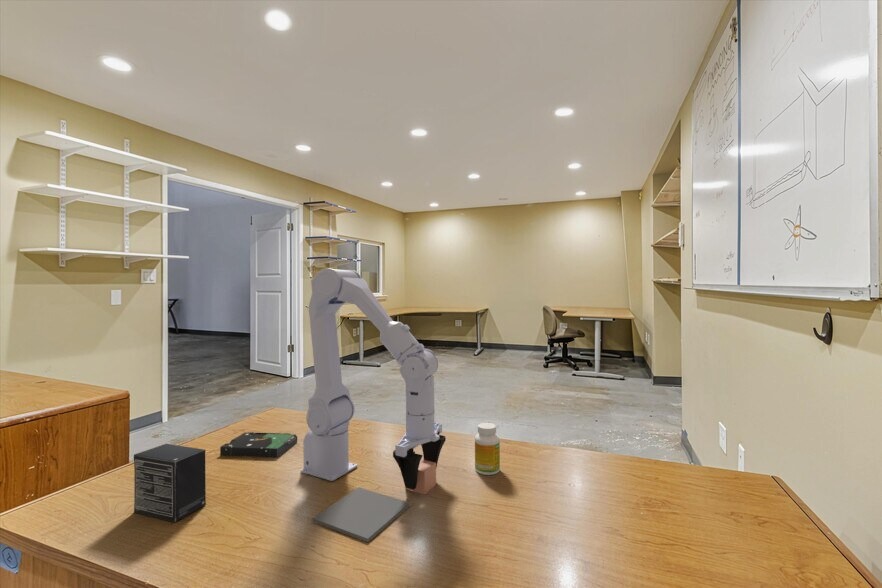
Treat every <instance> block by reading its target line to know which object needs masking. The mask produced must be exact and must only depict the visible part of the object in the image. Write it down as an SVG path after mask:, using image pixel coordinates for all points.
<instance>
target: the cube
mask: <svg viewBox="0 0 882 588" xmlns="http://www.w3.org/2000/svg"><path fill="white" fill-rule="evenodd" d="M436 485H437V468H436V463H435V462H431V461H427V460H424V459H422V458H421V461H420V464H419V468H418V475H417V485H416V488H415V489H414V490H413V489H409V488H406V487H405V486H404V488H405V490H406V491H407V490H408V491H411V492H414V493H418V494H420V495H426V494H427V493H428V492H429V491H430V490H431V489H433V488H434V487H435V486H436Z"/></svg>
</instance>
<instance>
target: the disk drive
mask: <svg viewBox="0 0 882 588" xmlns="http://www.w3.org/2000/svg"><path fill="white" fill-rule="evenodd" d="M297 443H298V436H297V434H294V433H288V432H287V433H286V432H285V433H282V432H280V433H279V432H275V433H274V432H250V431H248V432H243V433H241V434H240V435H238V436H236V437H235V438H233V439H231V440H230V441H229V443H225V444H222V445H221V446H220V447H219V451H220V453H219V455H220V456H221V457H241V458H242V457H246V458H268V459H271V458H273V459H276V458H277V459H278V458H279V457H281V456H282V455H283V454H284V453H286V452H287V451H288V450H289V449H291V448H292V447H293V446H294V445H295V444H297Z"/></svg>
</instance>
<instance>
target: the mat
mask: <svg viewBox="0 0 882 588" xmlns="http://www.w3.org/2000/svg"><path fill="white" fill-rule="evenodd" d="M410 506H411V502H410V501H407V500H403V499H401V498H397V497H393V496H389V495H386V494H382V493H379V492H376V491H372V490H368V489H366V488H362V487H357V488H356V489H354V490H352V491H351V492H349V493H348V494H347V495H345V496H343V497H342V498H341V499H338V501H336V502H334V503H333V504H331V505H330V506H328V507H327V508H325V509H324V510H322V511H321V512H319V513H317V514H316V515H315V516H313V517H312V518H311V522H313V523H314V524H316V525H317V524H318V525H321V526H322V527H326V528H327V529H331V530H333V531H336V532H339V533H342V534H344V535H347V536H350V537H352V538H355V539H357V540H359V541H363V542H365V543H369V542H370V541H371V540H372V539H373V538H375V537H376V536H377V535H378V534H379V533H381V531H383V530H384V529H385V528H387V526H389V524H391V523H392V522H393V521H394V520H395V519H397V518H398V517H399V516H400V515H401V514H403V513H404V511H406V510H407V509H408V508H410Z"/></svg>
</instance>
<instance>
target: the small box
mask: <svg viewBox="0 0 882 588" xmlns="http://www.w3.org/2000/svg"><path fill="white" fill-rule="evenodd" d="M133 466H134V468H133V469H134V470H133V471H134V475H133V476H134V478H133V479H134V497H133V498H134V500H133V502H134V503H133V504H134V505H133V508H134V509H133V513H136V514H139V515H142V516H143V515H144V516H147V517H152V518H155V519H160V520H164V521H167V522H172V523H176V522H178V521H180V520H181V519H184V518H186V517H187V516H189V515H190V514H193V513H194V512H196V511H198V510H199V509H202V508H204V507H205V506H207V503H206V502H207V501H206V499H207V498H206V497H207V495H206V490H207V489H206V488H207V487H206V449H204V448H197V447H190V446H183V445H178V444H177V445H176V444H170V443H164V444H161V445H158V446H155V447H152V448H149V449H147V450H143V451H140V452H138V453H134V455H133Z"/></svg>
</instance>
